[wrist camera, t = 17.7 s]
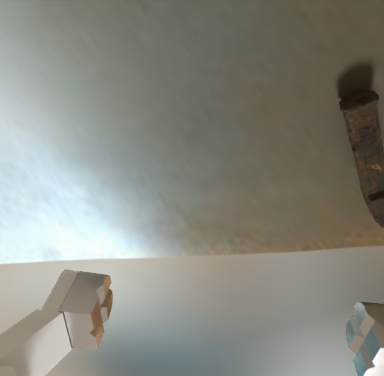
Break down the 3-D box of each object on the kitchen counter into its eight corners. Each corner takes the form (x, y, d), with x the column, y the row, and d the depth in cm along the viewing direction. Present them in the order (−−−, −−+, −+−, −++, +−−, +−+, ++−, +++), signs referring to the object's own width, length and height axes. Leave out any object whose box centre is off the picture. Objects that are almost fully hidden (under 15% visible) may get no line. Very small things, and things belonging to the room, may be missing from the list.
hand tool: (334, 96, 40) (345, 111, 36) (370, 85, 39) (386, 99, 35) (354, 217, 49) (365, 239, 46) (384, 211, 48) (397, 233, 44)
